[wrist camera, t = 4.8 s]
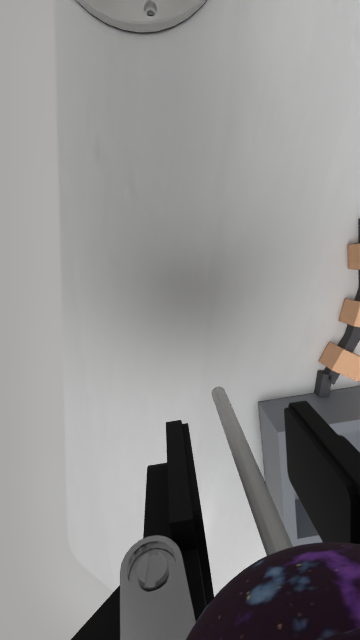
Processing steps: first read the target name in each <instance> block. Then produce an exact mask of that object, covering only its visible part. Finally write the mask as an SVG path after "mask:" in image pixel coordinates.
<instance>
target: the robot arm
mask: <svg viewBox="0 0 360 640" xmlns="http://www.w3.org/2000/svg"><path fill="white" fill-rule="evenodd" d="M77 1H78V2H79V3H80V4H81V5H82V6H83V7H84V8H85V9H86V10H87V11H88V12H90V13H91V14H92V15H94V16H96V17H97V18H99V19H100V20H102V21H103V22H105V23H107V24H109V25H112V26H115V27H117V28H120V29H122V30H128V31H134V32H154V31H160V30H163V29H166V28H170V27H173V26H175V25H177V24H178V23H180V22H182V21H184V20H186V19H187V18H189V17H190V16H191V15H192V14H193V13H194V12H196V11H197V10H198V9H199V8H200V7H201V6H202V5H203V4H204V2H205V1H206V0H77ZM149 15H153V16H152V17H151V16H149ZM284 420H285V438H286V455H287V472H288V477H289V480H290V482H291V484H292V486H293V488H294V490H295V492H296V494H297V496H298V497H299V499H300V501H301V503H302V505H303V507H304V508H305V510H306V512H307V514H308V516H309V518H310V520H311V521H312V523H313V525H314V527H315V529H316V531H317V532H318V534H319V536H320V538H321V540H322V542H343V543H354V544H360V452H359V451H358V450H357V449H356V448H355V447H354V446H353V445H352V444H351V443H350V442H349V441H348V440H347V439H346V438H345V437H344V436H342V435H338V434H337V433H336V432H335V431H334V430H333V429H332V428H331V427H330V426H329V425H328V423H327V422H326V421H325V420H324V419H323V418H322V417H321V416H320V415H319V414H318V413H317V412H316V410H315V409H314V408H313V407H312V406H311V405H310V404H309V403H308V402H307V401H298V402H292V403H289V406H288V408H285V409H284ZM166 439H167V463H163V464H156V465H150V466H148V468H147V484H146V501H145V519H144V537H143V539H141V540H139V541H138V542H137V543H136V544H134V545H133V546H132V547H131V548H130V549H129V551H128V552H127V553H126V555H125V557H124V559H123V561H122V564H121V570H120V586H119V587H118V588H117V589H116V590H115V591H114V592H113V593H112V595H111V596H110V597H109V598H108V599H107V600H106V601H105V602H104V603H103V605H102V606H101V607H100V608H99V609H98V610H97V611H96V612H95V613H94V615H93V616H92V617H91V618H90V619H89V620H88V621H87V622H86V624H85V625H84V626H83V627H82V628H81V629H80V630H79V631H78V632H77V633H76V635H75V636H74V637H73V638H72V639H71V640H186V638H187V636H188V635H189V633H190V631H191V629H192V627H193V626H194V624H195V623H196V621H197V620H198V618H199V617H200V615H201V614H202V613H203V611H204V610H205V608H206V607H207V605H208V604H209V603H210V602H211V601H212V600H213V598H214V594H213V587H212V580H211V573H210V566H209V559H208V553H207V546H206V539H205V532H204V525H203V519H202V512H201V505H200V499H199V492H198V486H197V479H196V473H195V466H194V460H193V453H192V447H191V440H190V434H189V427H188V423H186V424H182V421H181V420H177V421H171V422H166Z"/></svg>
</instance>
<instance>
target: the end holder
mask: <svg viewBox="0 0 360 640" xmlns="http://www.w3.org/2000/svg"><path fill="white" fill-rule="evenodd" d="M298 401H307V402H308V403H309V404H310V405H311V406H312V407H313V408H314V409H315V410H316V412H317V413H318V414H319V415H320V416H321V417H322V418H323V419H324V420H325V421H326V422H327V423H328V425H329V426H330V427H331V428H332V429H333V430H334V431H335V432H336V433H337V434H338V435H342V436H344V437H345V438H346V439H347V440H348V441H349V442H350V443H351V444H352V445H353V446H354V447H355V448H356V449H357V450H358V451H359V452H360V386H357V387H351V388H345V389H338V390H332V391H330V392H329V396H326V397H318V396H317V395H316V394H315V393H313V394H306V395H300V396H293V397H287V398H281V399H274V400H268V401H261V402H258V405H259V417H260V428H261V439H262V451H263V462H264V473H265V484H266V486H267V488H268V491H269V493H270V495H271V497H272V500H273V502H274V504H275V507H276V509H277V511H278V513H279V516H280V518H281V520H282V523H283V525H284V527H285V530H286V532H287V534H288V536H289V539H290V541H291V543H292V546H293V547H295V546H299V545H304V544H311V543H321V542H322V540H321V538H320V536H319V534H318V532H317V531H316V529H315V527H314V525H313V523H312V521H311V520H310V518H309V516H308V514H307V512H306V510H305V508H304V507H303V505H302V503H301V501H300V499H299V497H298V496H297V494H296V492H295V490H294V488H293V486H292V484H291V482H290V480H289V477H288V472H287V455H286V438H285V420H284V409H285V408H288V406H289V403H292V402H298Z"/></svg>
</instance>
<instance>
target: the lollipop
mask: <svg viewBox="0 0 360 640" xmlns="http://www.w3.org/2000/svg"><path fill="white" fill-rule="evenodd" d="M212 397H213V400H214V403H215V405H216V408H217V411H218V414H219V417H220V420H221V423H222V426H223V429H224V432H225V435H226V438H227V441H228V443H229V446H230V449H231V452H232V455H233V458H234V461H235V464H236V467H237V470H238V473H239V476H240V479H241V481H242V484H243V487H244V490H245V493H246V496H247V499H248V502H249V505H250V508H251V511H252V514H253V516H254V519H255V522H256V525H257V528H258V531H259V534H260V537H261V540H262V543H263V546H264V549H265V552H266V554H267V556H266V557H264V558H262V559H260V560H258V561H257V562H255V563H254V564H252V565H250V566H249V567H247V568H246V569H244V570H243V571H242V572H241V573H239V574H238V575H237V576H236V577H234V578H233V579H232V580H231V581H230V582H229V583H228V584H227V585H226V586H224V587H223V588H222V589H221V590H220V591H219V593H218V594H217V595H216V596H215V597H214V598H213V600H212V601H211V602H210V603H209V604H208V605H207V607H206V608H205V610H204V611H203V613H202V614H201V615H200V617H199V618H198V620H197V621H196V623H195V624H194V626H193V627H192V629H191V631H190V633H189V635H188V636H187V638H186V640H360V544H354V543H343V542H321V543H311V544H304V545H299V546H295V547H293V546H292V543H291V541H290V539H289V536H288V534H287V532H286V530H285V527H284V525H283V523H282V520H281V518H280V516H279V513H278V511H277V509H276V507H275V504H274V502H273V500H272V497H271V495H270V493H269V491H268V488H267V486H266V484H265V481H264V479H263V477H262V475H261V472H260V470H259V468H258V465H257V463H256V461H255V459H254V456H253V454H252V452H251V449H250V447H249V445H248V443H247V440H246V438H245V436H244V433H243V431H242V429H241V427H240V424H239V422H238V420H237V417H236V415H235V413H234V410H233V408H232V406H231V404H230V401H229V399H228V397H227V394H226V392H225V390H224V389H223V388H222V387H216V388H214V389H213V391H212Z"/></svg>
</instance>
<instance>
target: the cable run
mask: <svg viewBox="0 0 360 640" xmlns="http://www.w3.org/2000/svg"><path fill="white" fill-rule="evenodd" d="M348 268H349V269H359V289H358V293H357V296H356V299H355V300H350V299H345V301H344V304H343V308H342V311H341V315H340V318H339V321H342V322H344V323H347V324H348V326H347V329H346V333H345V335H344V337H343V338H342V340H341V342H340V344H339V345H338V346H337V345H335V344H333V343H331V342H329V344H328V345H327V347H326V349H325V351H324V353H323V354H322V356H321V358H320V360H319V362H321V363H322V364H323V365H325V366H326V368H325V370H324V371H318V374H317V380H316V385H315V391H314V393H315V394H316V395H317V396H318V397H326V396H329V392H330V386H331V384H335V382H336V380H337V378H338V377H339V375H340V374H342V375H344V376H346V377H349V378H351V379H353V380H356V381H358V382H359V381H360V356H359V355H357V354H355V353H353V351H354V349H355V347H356V346H357V344H358V342H359V340H360V219H359V243H357V244H350V245H348Z"/></svg>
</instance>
